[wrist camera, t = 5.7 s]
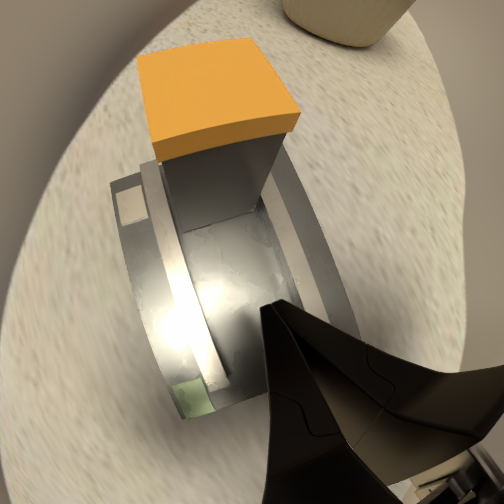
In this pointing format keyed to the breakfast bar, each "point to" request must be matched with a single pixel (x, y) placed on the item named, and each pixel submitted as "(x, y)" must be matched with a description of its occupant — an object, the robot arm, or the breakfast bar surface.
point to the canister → (347, 18)
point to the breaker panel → (223, 282)
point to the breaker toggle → (215, 125)
